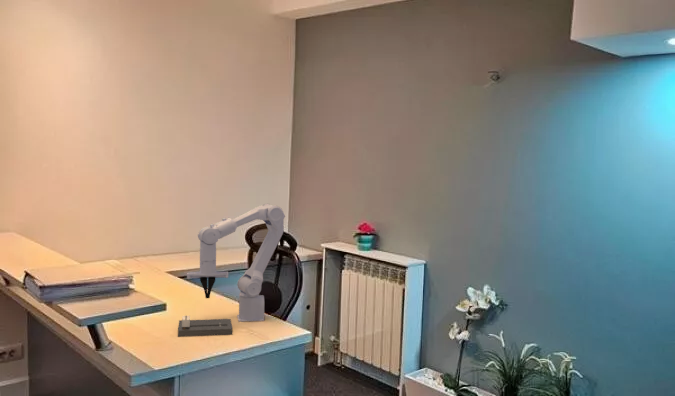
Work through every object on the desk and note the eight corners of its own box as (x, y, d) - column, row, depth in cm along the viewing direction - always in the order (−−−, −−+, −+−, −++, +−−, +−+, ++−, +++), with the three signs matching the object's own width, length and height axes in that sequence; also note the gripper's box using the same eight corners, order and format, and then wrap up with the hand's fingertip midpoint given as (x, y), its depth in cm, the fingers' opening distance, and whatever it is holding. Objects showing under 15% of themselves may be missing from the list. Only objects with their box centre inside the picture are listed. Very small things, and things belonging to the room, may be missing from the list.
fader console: (230, 324, 213) (230, 318, 213) (232, 334, 202) (232, 328, 201) (179, 326, 209) (179, 320, 209) (177, 336, 197) (177, 330, 197)
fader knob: (189, 322, 205) (189, 315, 205) (189, 327, 201) (189, 319, 200) (182, 322, 205) (182, 315, 205) (182, 327, 200) (182, 319, 200)
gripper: (227, 258, 218) (227, 294, 219) (187, 258, 214) (186, 295, 215) (228, 261, 211) (228, 299, 212) (187, 262, 207) (186, 300, 209)
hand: (207, 297), depth 213 cm, fingers closed
